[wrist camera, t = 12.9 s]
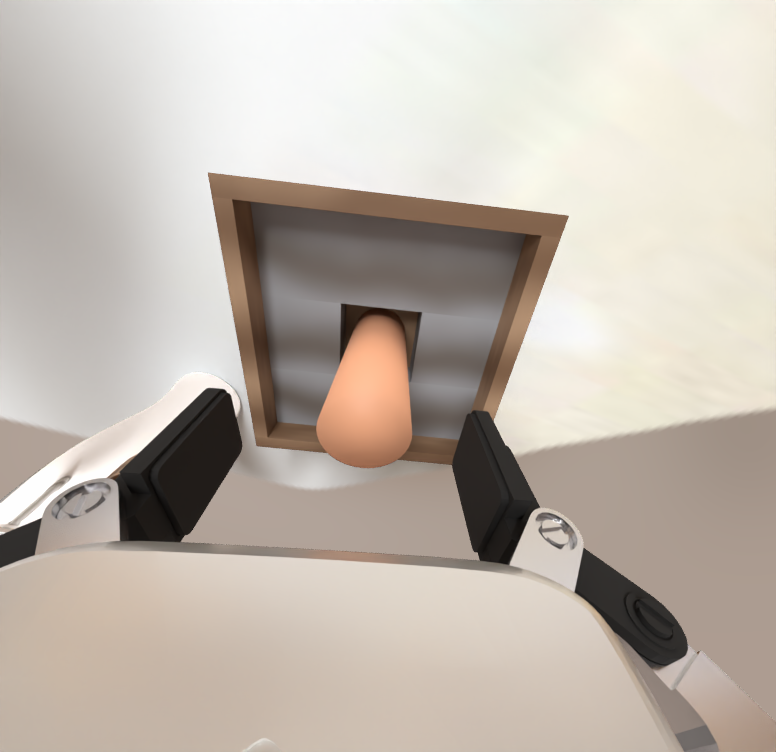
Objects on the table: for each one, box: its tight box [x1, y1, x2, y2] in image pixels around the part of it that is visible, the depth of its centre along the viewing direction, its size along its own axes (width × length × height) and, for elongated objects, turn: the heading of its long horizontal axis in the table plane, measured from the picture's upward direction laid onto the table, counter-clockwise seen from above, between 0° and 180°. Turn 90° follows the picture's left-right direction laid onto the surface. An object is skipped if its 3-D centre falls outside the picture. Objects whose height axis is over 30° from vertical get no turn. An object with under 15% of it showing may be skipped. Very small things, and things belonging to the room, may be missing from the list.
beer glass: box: [0, 372, 241, 535], centre depth 20 cm, size 7×7×15 cm
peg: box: [316, 308, 412, 468], centre depth 17 cm, size 4×4×12 cm
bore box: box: [208, 173, 569, 465], centre depth 20 cm, size 18×18×6 cm
